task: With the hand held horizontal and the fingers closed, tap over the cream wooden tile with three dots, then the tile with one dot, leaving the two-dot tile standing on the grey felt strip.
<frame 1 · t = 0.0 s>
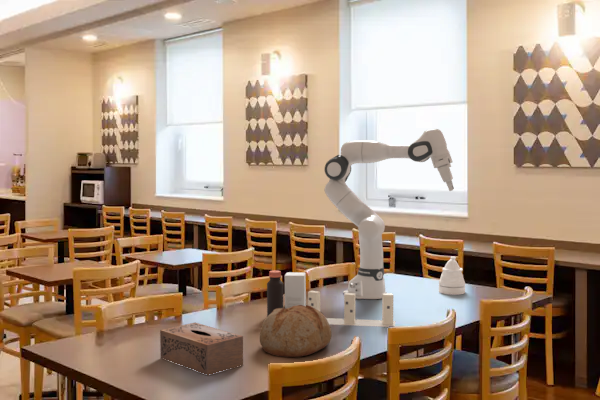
hand: (451, 190, 311), 52 cm above the table, tool tilted 20°, fingers open, 8 cm apart
tile two: (349, 323, 270), resting on felt strip
bottle: (275, 319, 280), on the table
tile one: (387, 323, 270), resting on felt strip
tile three: (314, 320, 275), resting on felt strip
honey pot: (451, 292, 334), on the table
tissue box cover: (201, 363, 222), on the table
supplement box: (295, 306, 303), on the table
bread: (296, 348, 238), on the table
felt strip: (350, 323, 272), on the table
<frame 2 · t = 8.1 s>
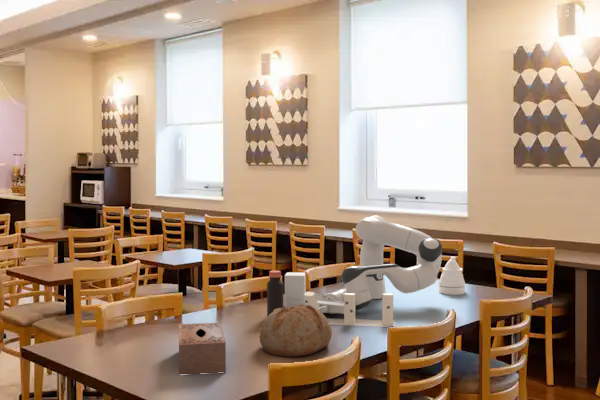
hand: (317, 309, 274), 5 cm above the table, tool horizontal, fingers closed, pressing on tile three
tile three: (314, 319, 275), point 1 cm above the table, tilted 18°, touching felt strip, gripper
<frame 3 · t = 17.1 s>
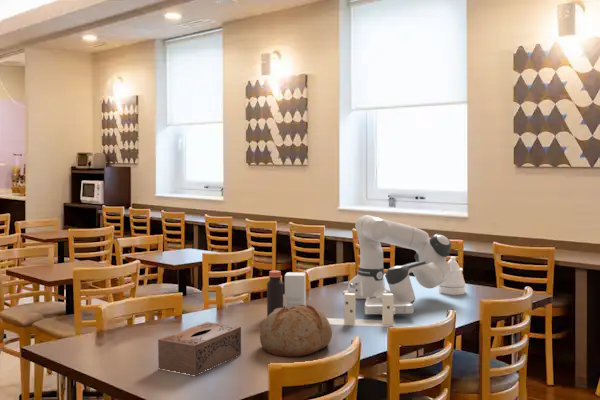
hand: (391, 312, 271), 4 cm above the table, tool horizontal, fingers closed, pressing on tile one
tile one: (387, 323, 270), resting on felt strip, touching gripper
tile three: (312, 317, 273), point 2 cm above the table, tilted 92°, touching felt strip
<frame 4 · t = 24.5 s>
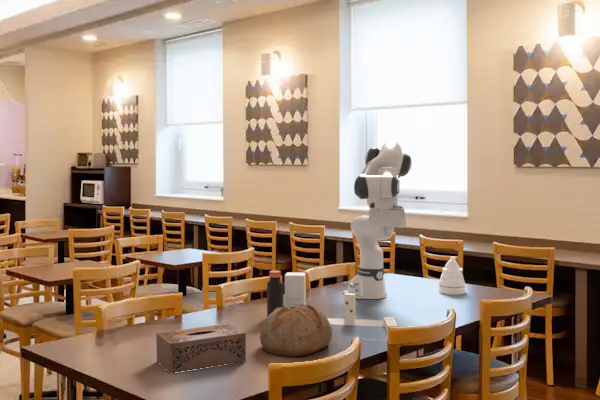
hand: (387, 236, 289), 33 cm above the table, tool pointing down, fingers closed
tile one: (388, 320, 268), point 2 cm above the table, tilted 93°, touching felt strip
at the end: tile three tilted 92°; tile one tilted 93°; tile two tilted 0° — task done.
